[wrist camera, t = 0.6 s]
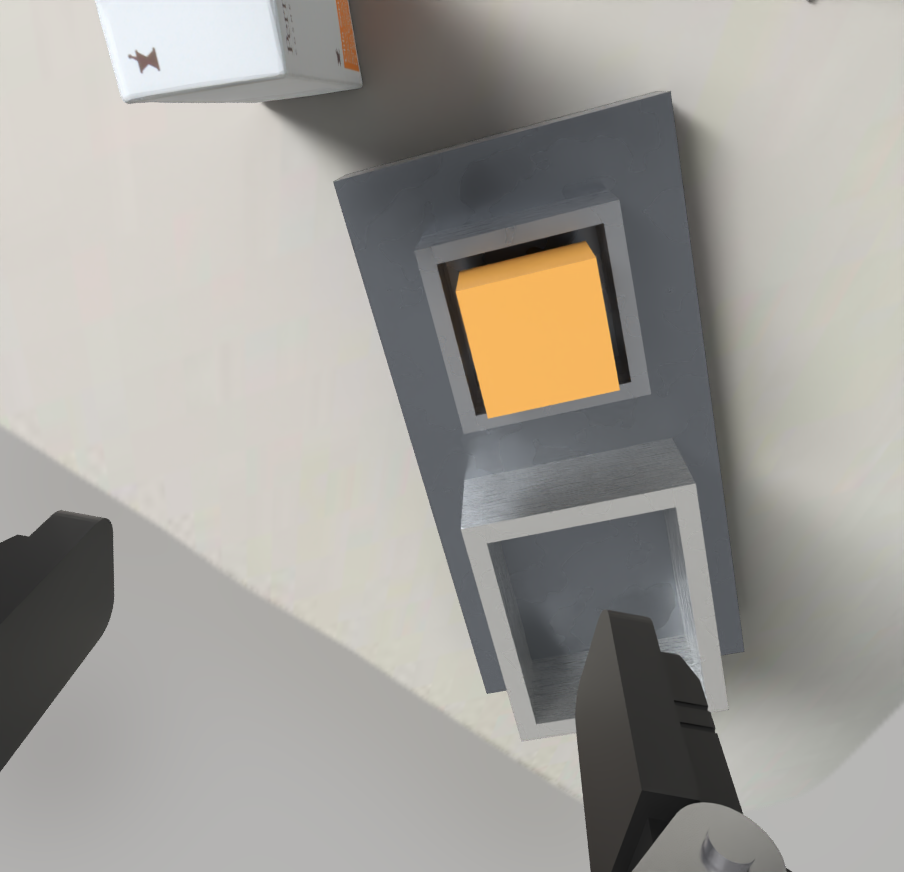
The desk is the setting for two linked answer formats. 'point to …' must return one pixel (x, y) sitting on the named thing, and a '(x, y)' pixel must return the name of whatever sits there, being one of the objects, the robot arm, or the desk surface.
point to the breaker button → (538, 329)
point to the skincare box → (229, 49)
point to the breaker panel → (564, 424)
